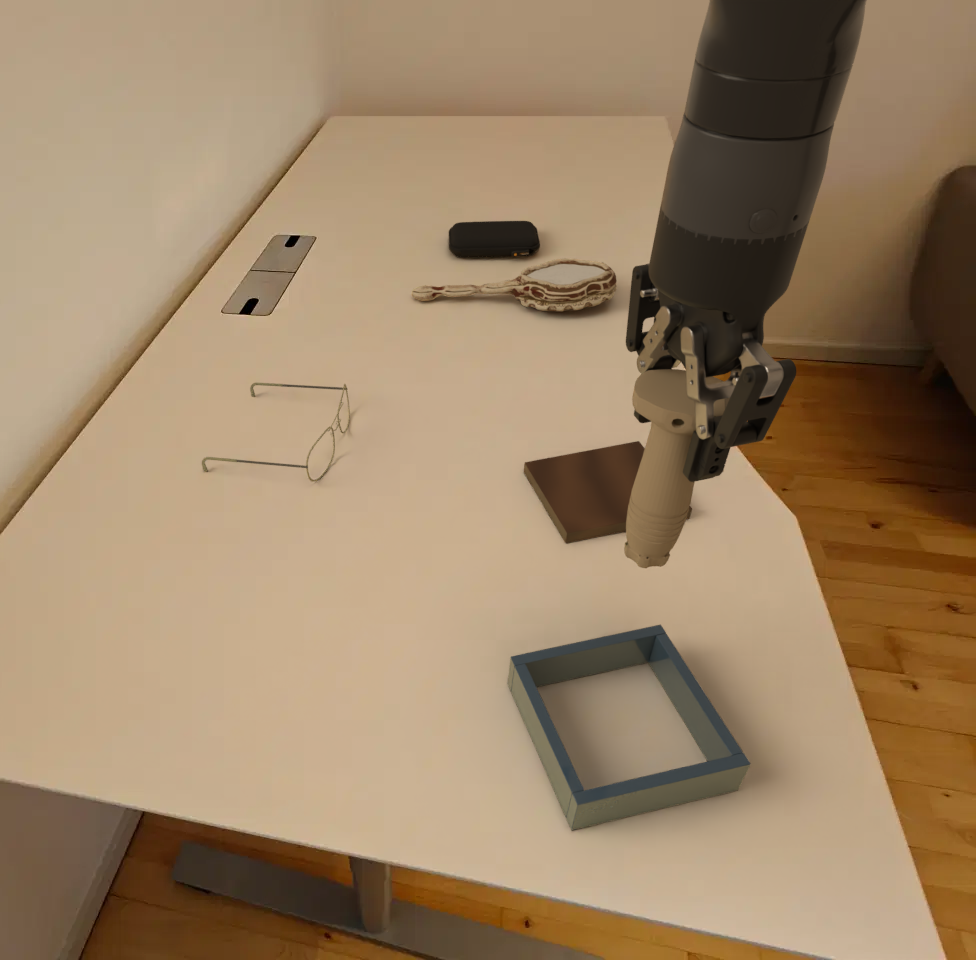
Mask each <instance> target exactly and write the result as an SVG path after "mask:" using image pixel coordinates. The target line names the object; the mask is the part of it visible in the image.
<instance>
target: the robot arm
mask: <svg viewBox="0 0 976 960" xmlns="http://www.w3.org/2000/svg"><path fill="white" fill-rule="evenodd" d="M867 1H868V0H709V2H708V6H707V11H706V13H705V18H704V22H703V25H702V28H701V31H700V35H699V38H698V42H697V46H696V51H695V56H694V62H693V67H692V72H691V75H690V76H691V77H690V81H689V87H688V92H687V97H686V102H685V107H684V112H683V116H682V119H681V123H680V126H679V130H678V133H677V136H676V139H675V141H674V144H673V147H672V151H671V153H670V156H669V161H668V166H667V171H666V177H665V181H664V186H663V191H662V197H661V201H660V207H659V212H658V217H657V222H656V228H655V232H654V238H653V243H652V248H651V253H650V258H649V263H645V264H640V265H635V266H634V267H633V268H632V271H631V272H632V273H631V282H630V292H629V304H628V313H627V321H626V322H627V323H626V333H625V334H626V335H625V346H626V349H627V351H628V352H630V353H634V352H636V354H637V355H638V356H637V358H636V367H637V370H638V372H639V373H640V375H641V374H642V373H644V372H646V371H648V370H662V369H675V368H678V367H679V366H680V364H682V366H683V367H684V370H686V388H687V396H688V398H689V399H690V400H693V401H694V402H695V423H696V431H693V435H692V439H691V442H690V446H689V450H688V453H687V457H686V461H685V465H684V468H683V474H684V475H685V476H686V478H687V479H688V480H689V481H690V482H694V483H695V482H699V481H705V480H708V479H714V478H716V477H720V476H721V475H722V473H723V472H724V470H725V467H726V464H727V459H728V457H729V455H730V450H731V448H734V447H739V446H744V445H749V444H752V443H753V444H754V443H758V442H762V441H764V439H765V437H766V436H767V433H768V432H769V429H770V427H771V426H772V424H773V422H774V419H775V417H776V416H777V414H778V411H779V410H780V408H781V406H782V404H783V402H784V400H785V398H786V396H787V394H788V392H789V390H790V388H791V386H792V385H793V383H794V381H795V378H796V377H797V366H796V363H794V361H793V360H792V359H790V358H786V359H785V358H784V359H780V360H775V359H774V358H773V357H772V356H771V355H770V354H769V353H768V352H767V350H766V349H765V348H764V347H763V344H764V340H765V333H764V320H765V317H766V316H765V315H766V313H768V311H769V310H770V309H771V307H772V306H773V305H774V304H775V303H776V302H777V301H778V300H779V299H780V298H781V297H783V295H784V294H785V293H786V292H787V290H788V289H789V286H790V283H791V280H792V277H793V273H794V270H795V268H796V264H797V260H798V258H799V255H800V252H801V248H802V246H803V242H804V239H805V236H806V232H807V230H808V226H809V223H810V221H811V216H812V213H813V211H814V207H815V204H816V202H817V198H818V195H819V191H820V190H821V189H820V188H821V185H822V183H823V180H824V175H825V172H826V168H827V163H828V157H829V150H830V144H831V138H832V135H833V130H834V126H835V122H836V121H837V117H838V114H839V111H840V108H841V104H842V101H843V97H844V94H845V91H846V88H847V85H848V82H849V79H850V75H851V72H852V69H853V66H854V62H855V60H856V59H855V58H856V55H857V52H858V48H859V44H860V39H861V35H862V29H863V25H864V21H865V12H866V4H867ZM651 318H653V324H652V325H651V327H650V328H649V330H647V331H643V327H644V322H645V321H646V320H647V319H651ZM728 373H730V375H729V377H728V378H727V379H726V380H723V381H724V382H720V383H714V384H709V385H706V377H717V376H722V375H726V374H728ZM720 399H724V400H725V411H724V413H723V415H722V416H717V417H714V403H715V401H716V400H720ZM633 416H634V417H635V419H636V420H637V421H638V423H640V424H646V423H651V421H650V420H648V419H647V418H645V417H644V416H642V415H641V414H639V413H638V412H636V410H635V409H634V411H633Z"/></svg>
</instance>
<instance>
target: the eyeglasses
mask: <svg viewBox="0 0 976 960" xmlns="http://www.w3.org/2000/svg"><path fill="white" fill-rule="evenodd" d="M256 386H263V387H265V386H266V387H280V388H281V387H282V388H283V387H284V388H301V389H302V388H303V389H320V390H321V389H322V390H335V391H336V390H338V391H342V392H341V396H340V399H339V403H338V406H337V413H336V414H335V417H334V419H333V421H332V423H331V425H330V426H328V427H327V428H326V429H324V431H323V432H322V433H321V435H320V436H319V437H318V439H316V441H315V442H314V443H313V444H312V446H311V448H310V449H309V451H308V453H307V456H306V460H305V465H303V464H302V465H301V464H290V463H279V462H267V461H258V460H257V461H255V460H243V459H237V458H225V457H215V456H206V457H203V458H202V460H201V467H202V471H203V472H208V467H207V465H206V461H208V460H209V461H218V462H219V461H220V462H228V463H229V462H230V463H245V464H252V465H253V464H256V465H265V466H278V467H289V468H298V469H299V468H301V469H305V470H306V475H307V479H308V480H309V481H310V482H317V481H319V480H320V479H321V478H322V477H323V476H324V475H325V474H326V473H327V471H328V470H329V468H330V466H331V465H332V462H333V460H334V457H335V450H336V441H335V440H336V439H335V431H337V429H338V428H339V431H340V433H341V434H345V433H346V432H347V431H348V428H349V426H350V420H351V419H350V418H351V411H350V410H351V409H350V401H349V394H348V387H347V385H346V383H344V384H343V386H342V387H339V386H322V385H321V386H319V385H304V384H302V385H301V384H299V385H298V384H285V383H274V382H272V383H271V382H253V383H252V384H251V385H250V388H249V391H250V395H251V397H253V398H255V397H256V393H255V390H254V387H256ZM344 393H345V394H346V401H347V412H348V415H347V416H348V418H347V424H346V428H345V429H344V430H343V429H342V426H341V421H342V418H340V412H341V410H342V408H343V405H344V402H343V398H344ZM336 419H337V420H336ZM334 423H335V425H336V428H335V429H334V428H333V426H334ZM329 431H331V432H330V435H332V444H333V445H332V455H331V458H330V460H329V463H328V466H327V467H326V468H325V470H324V471H323V473H322V474H321V475H320V476H318V478H316V479H312V478H311V476H310V473H309V459H310V456H311V453H312V451H313V450H314V447H315V446H316V445H317V443H319V441H320V440H321V439H322V438H323V436H324V435H325V434H326V433H327V432H329Z"/></svg>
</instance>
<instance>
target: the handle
mask: <svg viewBox="0 0 976 960" xmlns="http://www.w3.org/2000/svg"><path fill="white" fill-rule="evenodd" d="M724 381H725V380H722V379H721V378H717V377H716V376H712V377H706V385H709V384H714V383H720V382H724ZM631 401H632V402H631V403H632V407H633V409H634V410H636V412H638V413H639V414H641V415H642V416H644V417H645V418H647V419H648V420H650V421H651V422H650V429H649V432H648V433H649V434H648V437H647V440H646V443H645V446H644V448H645V450H644V453H643V457H642V460H641V463H640V466H639V469H638V472H637V475H636V479H635V482H634V485H633V488H632V492H631V496H630V500H629V505H628V511H627V520H626V531H625V536H626V537H625V538H626V542H624V547H623V551H624V555H625V557H626V558H627V559H630V560H632V562H634V563H636V565H637V566H638V568H641V569H648V568H651V567H659V568H661V567H664V566H665V565H667V562H668V561H669V559H670V557H671V553H670V552H671V550H672V549H673V548H674V547H675V546H676V544H677V541H678V540H679V538H680V535H681V534H682V531H683V528H684V526H685V523H686V520H687V519H686V518H687V514H688V511H689V507H690V506H691V503H692V497H693V492H694V486H695V482H690V481H689V480H688V479H687V478H686V476H685V475H684V474H683V468H684V465H685V461H686V457H687V453H688V450H689V446H690V442H691V439H692V435H693V431H696V423H695V402H694V401H693V400H690V399H689V398H688V396H687V388H686V369H679V368H677V369H675V368H672V369H662V370H648V371H646V372H644V373H642V374H641V373H640V375H638V376H637V378H636V380H635V381H634V385H633V392H632V398H631ZM724 411H725V400H724V399H720V400H716V401H715V403H714V417H717V416H722V415H723V413H724Z"/></svg>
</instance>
